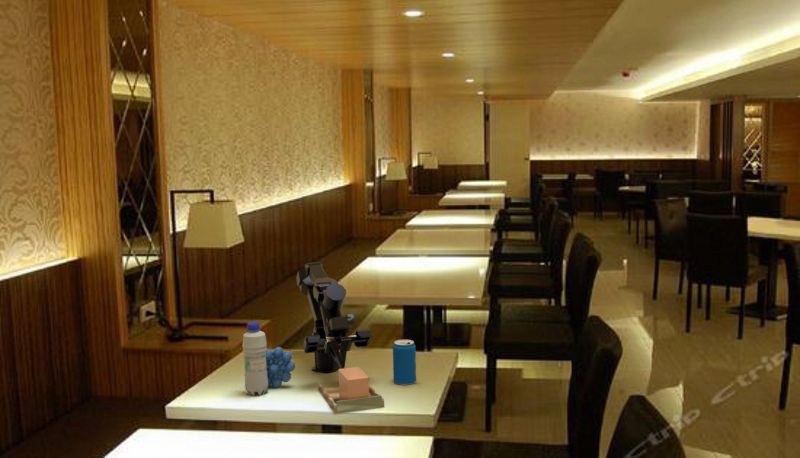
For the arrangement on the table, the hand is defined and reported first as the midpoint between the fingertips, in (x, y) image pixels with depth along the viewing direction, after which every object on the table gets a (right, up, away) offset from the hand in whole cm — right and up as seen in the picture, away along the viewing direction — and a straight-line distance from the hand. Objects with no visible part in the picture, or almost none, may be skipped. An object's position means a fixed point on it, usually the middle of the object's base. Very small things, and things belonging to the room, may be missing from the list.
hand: (343, 368), depth 208 cm
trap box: (+2, -7, -6) cm, 10 cm away
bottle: (-24, -7, +2) cm, 25 cm away
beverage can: (+17, -6, +7) cm, 19 cm away
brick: (+4, -7, -10) cm, 13 cm away
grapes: (-19, -7, +6) cm, 21 cm away
